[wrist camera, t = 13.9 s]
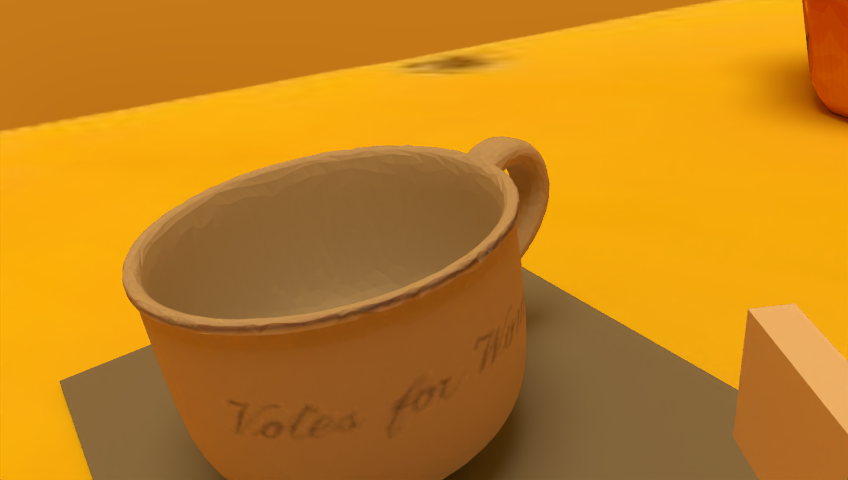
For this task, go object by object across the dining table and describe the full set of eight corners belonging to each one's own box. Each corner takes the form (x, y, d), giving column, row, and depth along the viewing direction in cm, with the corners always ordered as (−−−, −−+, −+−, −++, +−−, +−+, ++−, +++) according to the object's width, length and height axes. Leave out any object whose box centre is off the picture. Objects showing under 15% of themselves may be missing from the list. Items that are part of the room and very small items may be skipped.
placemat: (449, 228, 36) (449, 225, 36) (859, 465, 21) (860, 460, 20) (61, 385, 28) (59, 381, 28) (258, 961, 13) (256, 956, 13)
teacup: (259, 651, 17) (167, 384, 14) (159, 405, 26) (86, 199, 22) (684, 410, 23) (702, 173, 19) (487, 272, 32) (473, 90, 28)
